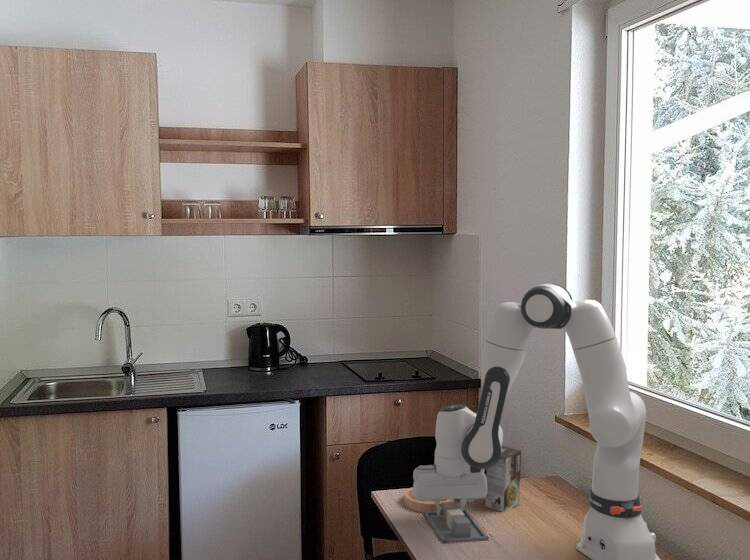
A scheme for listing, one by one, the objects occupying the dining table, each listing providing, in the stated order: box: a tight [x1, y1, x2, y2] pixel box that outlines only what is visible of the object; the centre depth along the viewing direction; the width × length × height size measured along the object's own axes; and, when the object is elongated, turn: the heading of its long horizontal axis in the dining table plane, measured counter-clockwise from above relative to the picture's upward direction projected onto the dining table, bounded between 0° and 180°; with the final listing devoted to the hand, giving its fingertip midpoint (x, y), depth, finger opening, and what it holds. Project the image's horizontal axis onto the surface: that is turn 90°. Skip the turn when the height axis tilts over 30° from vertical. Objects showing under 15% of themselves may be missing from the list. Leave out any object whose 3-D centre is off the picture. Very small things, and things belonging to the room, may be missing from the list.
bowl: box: [403, 486, 455, 513], centre depth 225 cm, size 14×14×3 cm
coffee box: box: [485, 445, 522, 513], centre depth 224 cm, size 9×6×16 cm
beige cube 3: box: [446, 509, 465, 530], centre depth 209 cm, size 4×4×4 cm
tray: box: [423, 509, 489, 544], centre depth 209 cm, size 18×12×1 cm, turn 11°
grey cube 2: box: [452, 517, 471, 538], centre depth 203 cm, size 4×4×4 cm
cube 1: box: [441, 500, 459, 522], centre depth 214 cm, size 4×4×4 cm
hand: (449, 513), depth 214 cm, fingers closed on cube 1, 4 cm apart
